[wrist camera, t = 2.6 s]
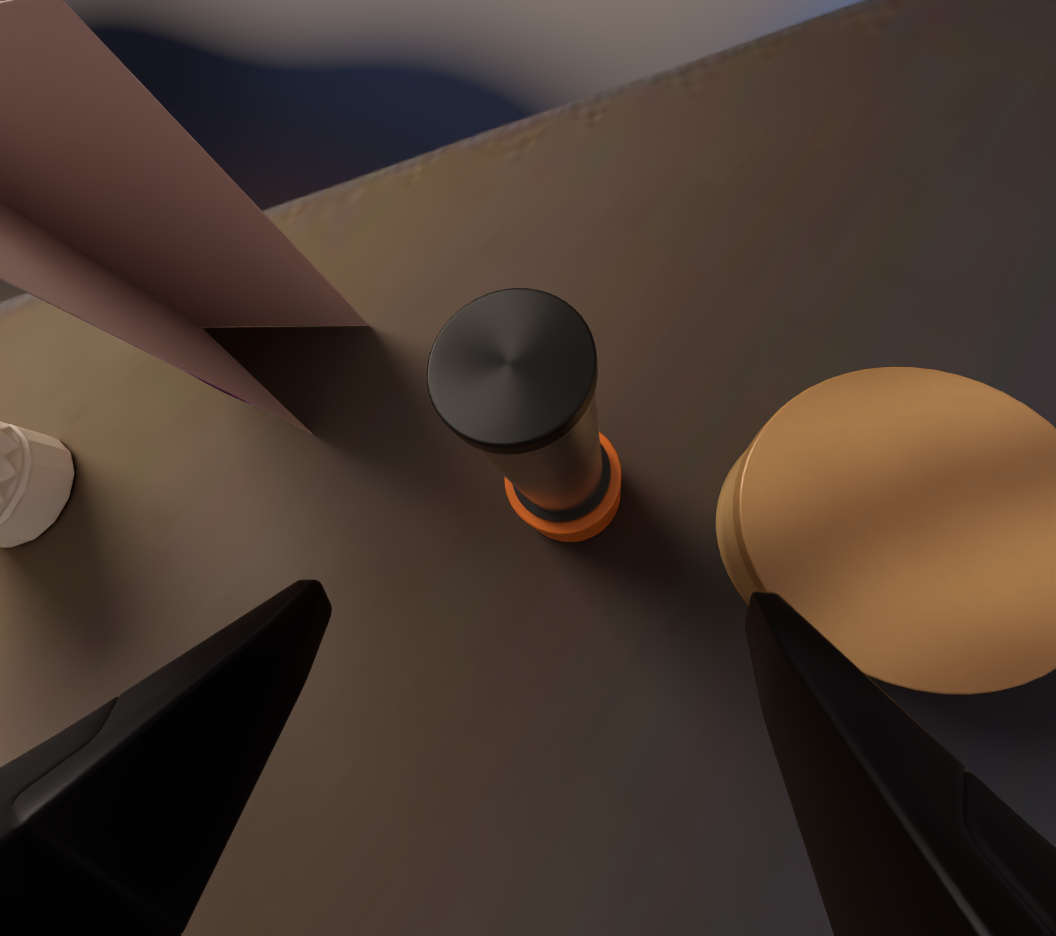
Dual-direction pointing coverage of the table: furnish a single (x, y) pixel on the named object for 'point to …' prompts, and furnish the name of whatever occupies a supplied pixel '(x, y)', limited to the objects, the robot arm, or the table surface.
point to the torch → (530, 407)
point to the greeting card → (135, 211)
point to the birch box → (905, 526)
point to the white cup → (31, 483)
